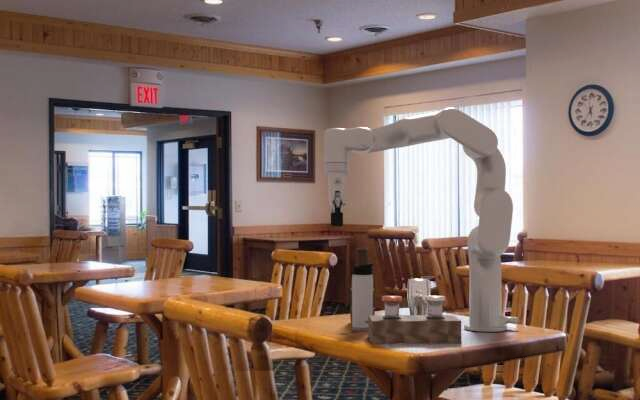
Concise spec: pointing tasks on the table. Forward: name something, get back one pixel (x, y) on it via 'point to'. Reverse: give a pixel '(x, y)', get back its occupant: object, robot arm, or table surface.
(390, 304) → the plug terracotta
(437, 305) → the plug cream
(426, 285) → the beer glass
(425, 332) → the socket board
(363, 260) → the beer bottle
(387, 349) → the table surface
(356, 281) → the travel mug
